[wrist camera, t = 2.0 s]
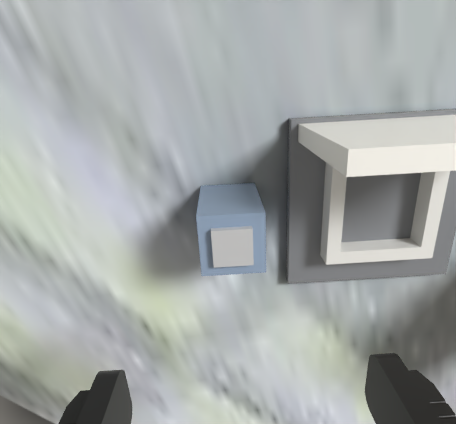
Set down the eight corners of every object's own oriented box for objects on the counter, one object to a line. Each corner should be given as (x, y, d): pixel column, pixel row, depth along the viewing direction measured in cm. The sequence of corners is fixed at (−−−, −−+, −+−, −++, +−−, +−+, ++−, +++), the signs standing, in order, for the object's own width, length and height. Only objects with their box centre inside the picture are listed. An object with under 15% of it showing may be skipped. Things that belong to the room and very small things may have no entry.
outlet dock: (288, 118, 23) (337, 142, 13) (474, 107, 23) (647, 124, 14) (286, 278, 27) (320, 375, 18) (439, 268, 27) (549, 360, 18)
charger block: (200, 185, 24) (195, 219, 18) (254, 182, 24) (266, 214, 18) (205, 234, 26) (201, 279, 20) (255, 231, 26) (267, 275, 20)
